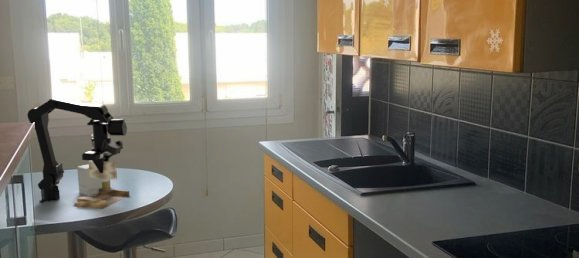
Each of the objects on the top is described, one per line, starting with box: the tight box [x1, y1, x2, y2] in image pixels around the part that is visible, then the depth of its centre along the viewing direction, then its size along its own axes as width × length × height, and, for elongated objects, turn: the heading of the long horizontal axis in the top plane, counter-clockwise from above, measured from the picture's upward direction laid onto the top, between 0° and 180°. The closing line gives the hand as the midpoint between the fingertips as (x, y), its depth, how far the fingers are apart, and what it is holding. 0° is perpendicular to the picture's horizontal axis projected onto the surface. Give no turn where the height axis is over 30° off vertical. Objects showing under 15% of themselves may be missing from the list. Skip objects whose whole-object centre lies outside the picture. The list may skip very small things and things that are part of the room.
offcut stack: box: [73, 195, 109, 209], centre depth 238 cm, size 13×4×3 cm, turn 73°
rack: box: [72, 188, 130, 210], centre depth 245 cm, size 14×19×3 cm
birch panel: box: [88, 160, 118, 181], centre depth 245 cm, size 12×2×7 cm, turn 73°
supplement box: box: [76, 163, 102, 197], centre depth 256 cm, size 7×7×13 cm
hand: (102, 172), depth 245 cm, fingers closed on birch panel, 2 cm apart
